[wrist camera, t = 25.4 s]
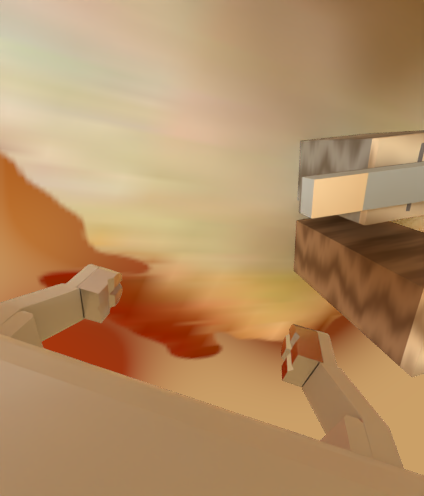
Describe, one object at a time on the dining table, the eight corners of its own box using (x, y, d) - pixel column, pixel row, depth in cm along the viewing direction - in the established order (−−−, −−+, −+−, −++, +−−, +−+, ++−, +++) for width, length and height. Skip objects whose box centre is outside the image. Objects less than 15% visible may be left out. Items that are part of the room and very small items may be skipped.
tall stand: (296, 220, 47) (439, 296, 23) (356, 210, 49) (543, 271, 25) (293, 270, 51) (411, 377, 28) (349, 259, 53) (502, 350, 30)
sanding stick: (300, 176, 26) (314, 179, 24) (468, 155, 30) (495, 156, 27) (298, 212, 28) (311, 218, 26) (458, 188, 31) (482, 192, 29)
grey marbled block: (300, 140, 41) (380, 138, 26) (368, 133, 43) (476, 127, 28) (297, 199, 45) (365, 225, 30) (359, 190, 47) (450, 210, 32)
